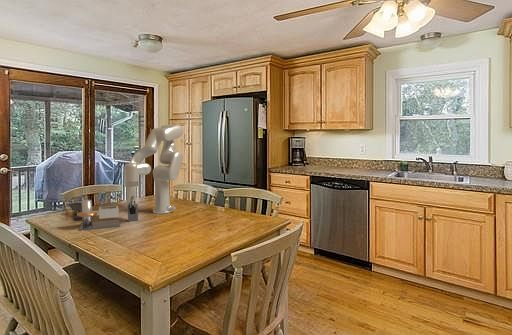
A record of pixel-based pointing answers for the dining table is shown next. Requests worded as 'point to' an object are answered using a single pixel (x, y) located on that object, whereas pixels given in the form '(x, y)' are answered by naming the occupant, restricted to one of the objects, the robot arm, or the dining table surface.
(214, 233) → the dining table surface
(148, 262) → the dining table surface
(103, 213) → the grey boxy fixture
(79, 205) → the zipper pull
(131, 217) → the grey block
